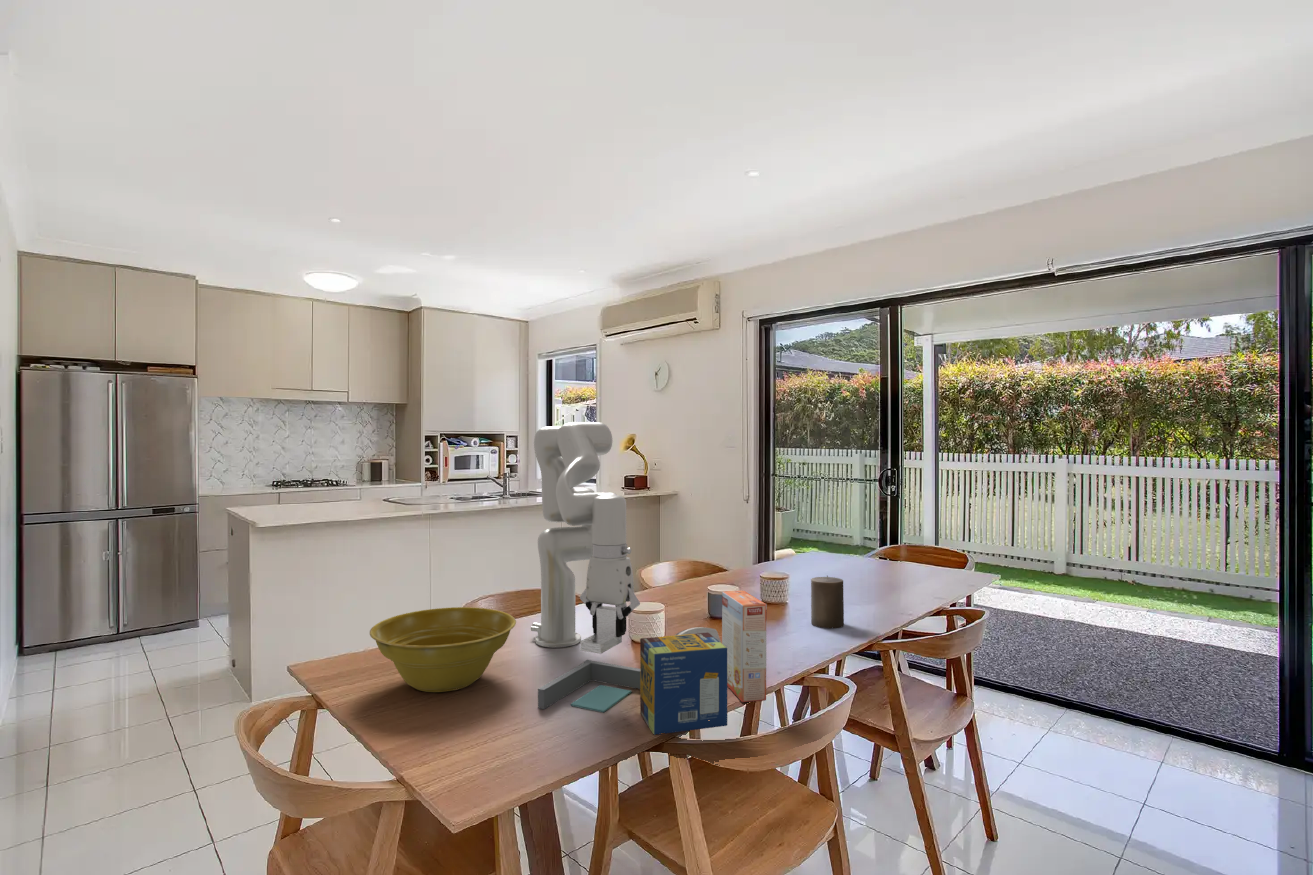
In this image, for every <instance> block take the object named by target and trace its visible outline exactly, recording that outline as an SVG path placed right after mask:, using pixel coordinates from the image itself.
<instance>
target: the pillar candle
mask: <svg viewBox="0 0 1313 875" xmlns="http://www.w3.org/2000/svg"><path fill="white" fill-rule="evenodd" d="M810 606H811V607H810V611H811V612H810V620H811V621H810V622H811V623H810V624H811V625H812V626H814V627H818V628H821V629H822V628H823V629H830V630H831V629H839V628H843V627H844V626H845V616H844V615H845V613H844V612H845V610H844V608H845V607H844V606H845V604H844V580H843V578H839V577H835V576H834V577H833V576H832V577H831V576H828V575H826V576H816V577H812V578H810Z"/></svg>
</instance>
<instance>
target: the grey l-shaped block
mask: <svg viewBox="0 0 1313 875" xmlns="http://www.w3.org/2000/svg"><path fill="white" fill-rule="evenodd" d="M596 617H597V633H596V634H594V633H593V634H592V635H590V636H588V637H586V638H585V639H584V638H583V639H581V641H580V642H579V643H580V647H579V648H580V649H579V650H580V651H581V652H585V653H592V654H599V655H602V654H604V653H606V652H607V651H608V650H611V649H612V648H614V647H616V646H618V645H619V644H621V643H622V642H623V641H622V640H623V636H621V637H616V619H617V618H618V615H617V611H616V607H615V606H608V605H607V606H606V605H602V606H600V607H598V608H596Z"/></svg>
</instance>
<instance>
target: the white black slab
mask: <svg viewBox="0 0 1313 875" xmlns="http://www.w3.org/2000/svg"><path fill="white" fill-rule="evenodd" d="M707 632H709V633H710V634H711V635H712V636H713V637H714V638H716V639H717V640H718V641H719V642H720V643H722V640H721V638H720V636H719V632H718V631H717V629H716V628H712V627H705V626H704V627H703V626H701V627H699V626H698V627H690V628H686V629H684V630H681V631H679V632H677V633H676V634H674V635H673V636H675V635H685V634H697V633H707Z"/></svg>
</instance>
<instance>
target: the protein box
mask: <svg viewBox="0 0 1313 875" xmlns="http://www.w3.org/2000/svg"><path fill="white" fill-rule="evenodd" d="M674 635H675V636H674ZM674 635H665V636H664V635H662V636H656V637H655V636H654V637H643V638H640V639H639V641H640V642H639V643H640V644H639V646H640V647H639V648H640V650H639V651H640V652H639V653H640V654H639V655H640V656H639V658H640V663H639V666H640V668H639V669H640V689H639V690H640V691H639V692H640V694H639V698H640V699H639V701H640V702H639V703H640V707H639V708H640V710H639V711H640V715H641V717H642V718H643V720H644V722H645V724H646V725H647V727H648V728H649V730H650V731H651V733H652V735H653V734H654V736H655V735H656V734H657V735H662V734H661V733H665V734H672V733H673V734H674V733H680V732H687V731H697V730H705V729H712V728H721V727H726V726H728V686H727V647H725V646H724V645H723V644H722V642H721V643H720V642H719V641H718V640H717V639H716V638H714V637H713V636H712V635H711V634H710V633H709V632H707V633H697V634H685V635H676V634H674ZM708 720H710V721H708Z"/></svg>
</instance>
